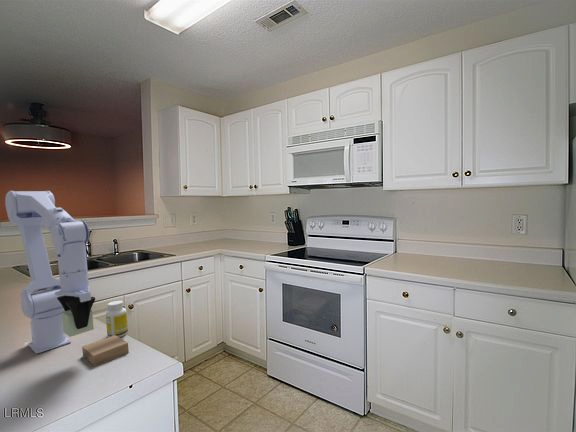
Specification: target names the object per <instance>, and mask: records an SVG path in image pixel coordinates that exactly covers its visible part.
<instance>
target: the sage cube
mask: <svg viewBox="0 0 576 432" xmlns="http://www.w3.org/2000/svg"><path fill="white" fill-rule="evenodd" d="M62 322H63V332H64V333H65V334H66V336H68V338H71V337H74V336H77V335H80V334H81V335H82V334H84V333H87V332H90V331H94V330H95V329H94V317H93V309H92V308H91V311H90V315H89V321H88V326H87V327H84V328H81V329H77V328H76V326H75V322H74V318H73V315H72V312H71V310H68V311H64V312H62Z"/></svg>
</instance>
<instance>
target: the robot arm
mask: <svg viewBox="0 0 576 432" xmlns="http://www.w3.org/2000/svg"><path fill="white" fill-rule="evenodd" d="M4 200H5V209H6V213H7V218H8V220H9V222H10V223H11V224H12V225H15V226H17V227H18V229H19V232H20V236H21V241H22V245H23V249H24V254H25V259H26V264H27V268H28V271H29V272H28V273H29V276H30V280H31V281H30V282H29V283H28V284H27V285H26V286H25V287H24V288H23V289H22V290H21V292H20V298H21V299H20V300H21V301H20V305H21V311H22V313H23V315H24V317H26V318H28V319H30V332H31V333H30V334H31V341H29V342H28V343H27V345H28V346H29V348H30V349H31V350H32V351H33V352H34V353H35V354H40V353H43V352H47V351H48V350H52V349H54V348H55V349H56V348H58V347H62V346H64V345H67V344H71V343H72V340H71V339H70V337H67V334H65V333H64V332H63V322H62V312H64V311H68V310H71V312H72V315H73V318H74V322H75V326H76V328H77V329H81V328H84V327H87V326H88V321H89V315H90V311H91V309H92V307H93V305H94V303H95V301H96V297H94V296H91V292H90V291H91V286H90V283H89V271H88V259H87V249H86V247H87V246H86V244H87V243H88V242H89V240H90V228H89V225H88V223H86V221H85V220H83V219H81V220H76V219H74V218H73V217H72V216H71V215H70V214H69V213H68V211H66V210H65V209H63V208H62V207H56V199H55V196H54V194H53V192H51V191H50V190H44V191H42V190H41V191H40V190H39V191H37V190H36V191H35V190H33V191H32V190H29V191H28V190H27V191H26V190H25V191H21V190H19V191H14V190H9V191H8V192H7V193H6V194H5V199H4ZM42 226H44V227H45V229H47V230H48V231H49V233H50V237H51V238H50V239H51V242H52V245H53V248H54V249H53V250H54V253H55V254H57V265H58V275H59V276H58V277H59V278H58V277H54V276H53V272H52V267H51V264H50V260H49V255H48V250H47V246H46V242H45V238H44V234H43V229H42Z"/></svg>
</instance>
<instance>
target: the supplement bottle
mask: <svg viewBox="0 0 576 432" xmlns="http://www.w3.org/2000/svg"><path fill="white" fill-rule="evenodd" d="M107 309H108V310H107V311H106V312H105V321H106V322H105V323H106V324H105V325H106V334H107V335H106V336H107V338H108V337H111V336H114V335H116V336H118V337H119V338H122V337H124V336H126V335H127V334H128V332H129V327H128V326H129V325H128V324H129V323H128V314H127V309H126V308H125V307H124V301H123V300H114V301H111V302H109V303H107Z"/></svg>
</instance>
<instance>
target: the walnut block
mask: <svg viewBox="0 0 576 432" xmlns="http://www.w3.org/2000/svg"><path fill="white" fill-rule="evenodd" d="M81 349H82V357H83V358H84V359H85V360H87V362H89V363H90V364H91V365H92V366H94V367H95V366H99V365H101V364H103V363H106V362H108V361H111V360H114V359H116V358H118V357H121V356H123V355H126V354H128V353H130V352H129V350H130V349H129V342H127V341H126V340H124V339H122V337H118V336H116V335H114V336H111V337H108V336H107V337H106V338H102V339H101V340H98V341H94V342H92V343H89V344H85V345H83V346H81Z"/></svg>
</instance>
